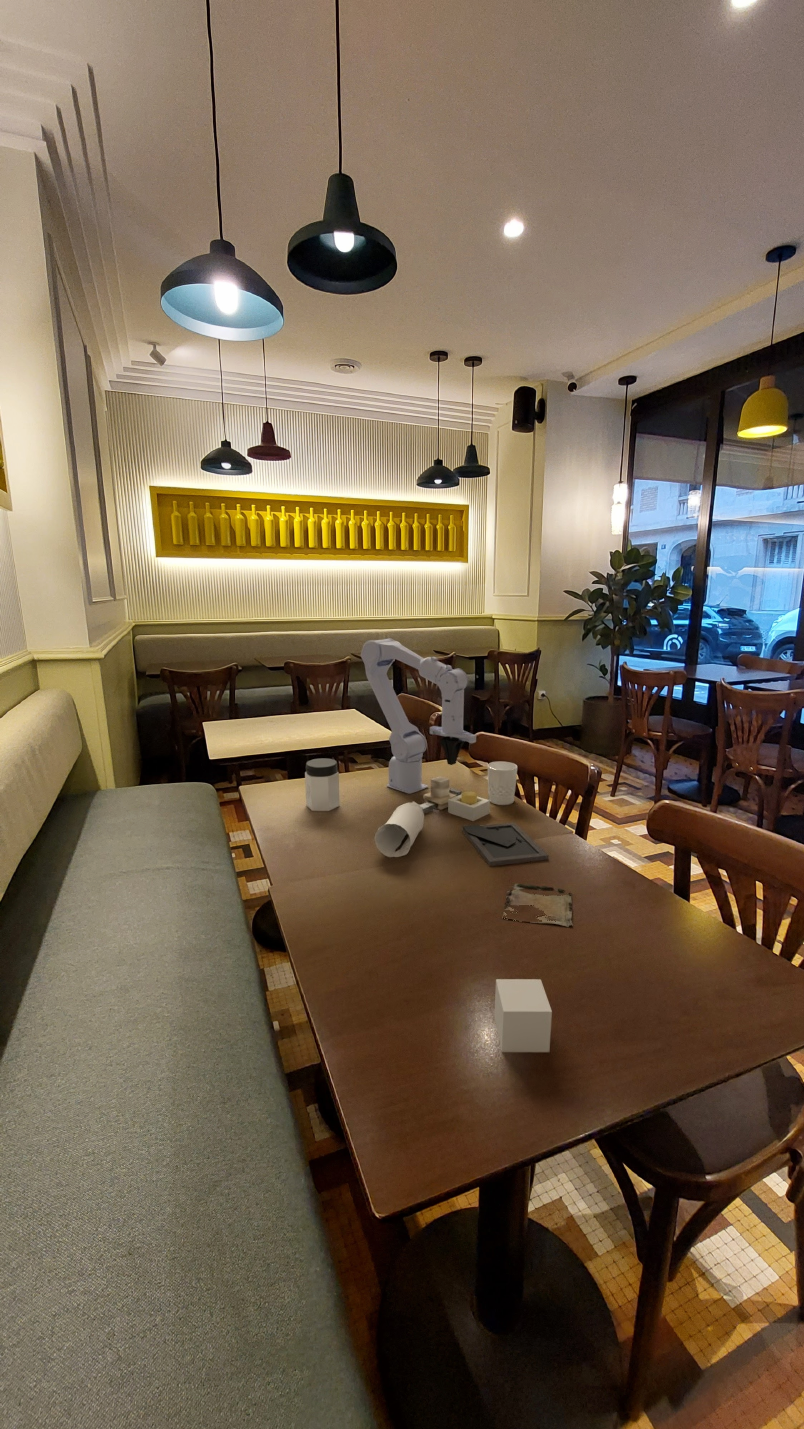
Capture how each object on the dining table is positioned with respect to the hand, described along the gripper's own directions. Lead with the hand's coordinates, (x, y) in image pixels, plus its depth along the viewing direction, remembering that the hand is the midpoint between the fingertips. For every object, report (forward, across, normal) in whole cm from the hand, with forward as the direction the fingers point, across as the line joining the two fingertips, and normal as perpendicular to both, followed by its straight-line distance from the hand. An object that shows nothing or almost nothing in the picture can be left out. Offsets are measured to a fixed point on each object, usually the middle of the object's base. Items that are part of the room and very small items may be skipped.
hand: (451, 763), depth 157 cm
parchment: (+10, +46, -31) cm, 56 cm away
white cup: (+10, +11, +8) cm, 17 cm away
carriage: (+10, +1, -6) cm, 12 cm away
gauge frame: (+10, +10, -5) cm, 15 cm away
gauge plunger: (+9, +10, -5) cm, 14 cm away
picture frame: (+11, +27, -14) cm, 32 cm away
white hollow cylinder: (+10, +9, -29) cm, 32 cm away
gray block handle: (+10, +1, -9) cm, 13 cm away
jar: (+10, -21, -28) cm, 36 cm away
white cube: (+10, +61, -60) cm, 86 cm away
